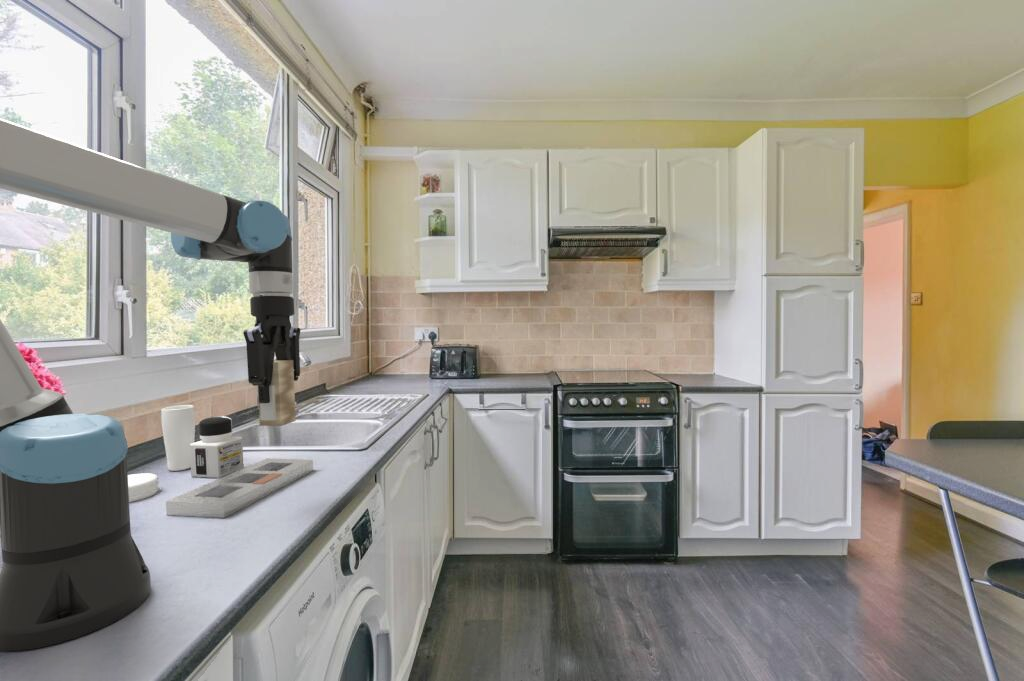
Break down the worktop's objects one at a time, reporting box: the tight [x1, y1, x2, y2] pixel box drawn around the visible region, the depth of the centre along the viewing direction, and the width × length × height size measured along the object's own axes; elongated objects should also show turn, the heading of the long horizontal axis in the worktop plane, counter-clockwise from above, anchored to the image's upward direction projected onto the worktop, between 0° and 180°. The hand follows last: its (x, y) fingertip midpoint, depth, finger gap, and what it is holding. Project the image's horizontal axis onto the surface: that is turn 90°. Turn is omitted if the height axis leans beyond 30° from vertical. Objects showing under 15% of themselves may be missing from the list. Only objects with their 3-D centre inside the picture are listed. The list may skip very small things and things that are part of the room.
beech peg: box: [257, 359, 297, 427], centre depth 95 cm, size 4×4×12 cm
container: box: [190, 416, 245, 479], centre depth 116 cm, size 8×8×13 cm
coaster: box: [128, 472, 160, 503], centre depth 101 cm, size 10×10×4 cm
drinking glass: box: [160, 404, 196, 472], centre depth 120 cm, size 7×7×15 cm
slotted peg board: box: [165, 458, 314, 519], centre depth 103 cm, size 28×12×3 cm, turn 170°
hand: (277, 416), depth 95 cm, fingers closed on beech peg, 4 cm apart
